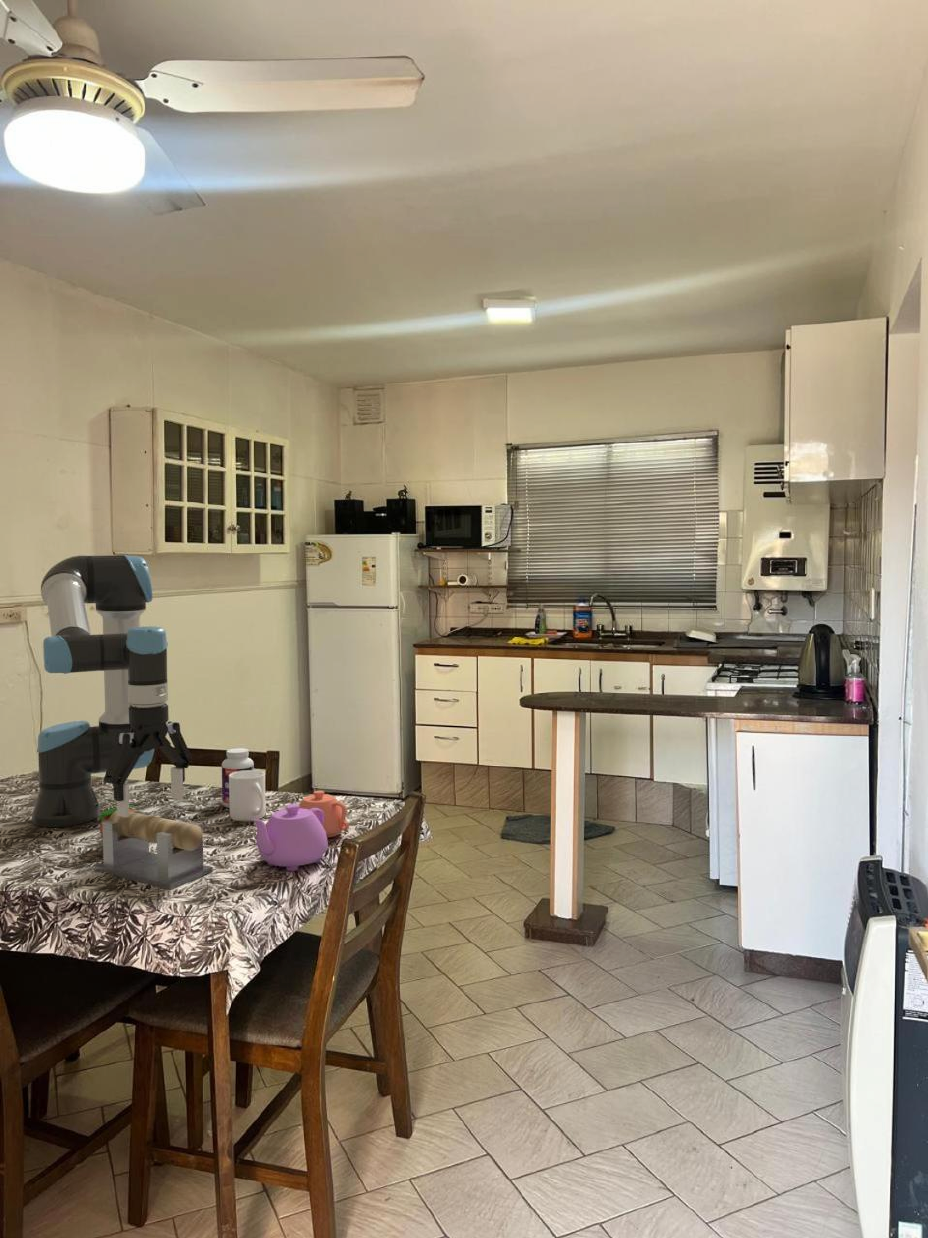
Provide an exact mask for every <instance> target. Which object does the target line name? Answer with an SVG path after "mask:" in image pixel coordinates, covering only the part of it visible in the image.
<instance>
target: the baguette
mask: <svg viewBox="0 0 928 1238" xmlns="http://www.w3.org/2000/svg"><path fill="white" fill-rule="evenodd" d="M109 821H113V822H117V835H122V836H126V837H131V838H135V839H139V840H144V841H148V842H149V843H153V844H157V833H160V832H164V833H169V834H172V846H173V848H174V847H175V848H180V849H184V850H188V851H193V850H195V849H196V848H198V846H199V845H200V843H201V841H202V837H203V835H204V833H203V828H202V829H201V828H200V827H199V826H198V825H193V824H189V822H182V821H178V820H173V819H168V818H163V817H159V816H154V815H149V814H148V815H144V814H139V813H134V812H129V817H127V818H126V817H122V816H117V811H115V812H114V813H113V814H112V815H111V817H110V818H109Z"/></svg>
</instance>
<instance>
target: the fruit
mask: <svg viewBox="0 0 928 1238" xmlns="http://www.w3.org/2000/svg"><path fill="white" fill-rule="evenodd" d="M133 808H135V809H139V807H138V806H136V805H129V812H136V810H134V809H133ZM115 811H117V807H116V808H109V809H107V810H105V811H103V812H101V813H100V815H99V817H97V818H98V819H102V820H101V821H100V827H99V832H100V836H101V840H103V828H102V822H104V821H107V820H108V821H109V818H110V817H111V815H112V814H113V813H114V812H115ZM118 836H120V835H118Z"/></svg>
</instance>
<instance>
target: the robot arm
mask: <svg viewBox="0 0 928 1238" xmlns="http://www.w3.org/2000/svg"><path fill="white" fill-rule="evenodd" d="M40 596H41V598H42V601H43V603H44V604H45V605H46V606H47V611H48V619H49V626H50V633H51V634H50V635H51V636H47V637H45V638H44V639H43V642H42V644H43V645H42V648H43V649H42V650H43V655H42V656H43V667H44V670H45V672H47V673H49V674H64V675H65V674H72V673H87V672H101V671H102V672H103V675H104V676H103V677H104V680H103V682H104V687H103V688H104V712H103V713H102V715H100V717H98V725H96V726H91V724H90V722H89V721H87V720H79V721H77V720H76V721H74V720H73V721H68V722H63V723H59V724H55V725H51V726H49V727H47V728H44V729H42V730H41V731H40V732H39V733H38V737H37V749H36V752H37V754H38V756H37V757H38V785H39V787H38V789H39V790H38V795H37V797H36V800H35V803H34V808H33V810H32V814H31V815H32V816H31V817H32V818H31V819H32V824H33V825H35V826H38V827H44V828H45V827H46V828H58V827H69V826H75V825H76V826H77V825H81V824H86V823H88V822H91V821H93V820H96V819H97V818H98V817H99V816H100V815H101V810H100V809H101V808H100V804H99V802H98V798H97V795H96V793H95V791H94V789H93V786H92V775H93V774H101V773H105V775H104V777H103V782H104V783H107V784H112V786H113V788H112V789H113V800H114V802H116V808H117V816H122V817H126V818H127V817H129V808H130V807H129V806H130V789H129V787H130V786H129V783H126V782H127V780H128V778H129V776H130V774H131V773H132V771H133V770H136V769H137V770H138V769H142V768H143V769H144V768H147V767H148V766H149V765H150V764H151V762H152V760H153V756H154V752H155V750H158V749H159V750H160V751H161V752H162V753H163V754H164V756H165V757H167V759H168V760H169V762H171V764H172V765H173V767H170V789H171V799H174V800H179V801H182V800H184V782H186V781H185V780H186V772H185V771H186V769H188V768H189V766H190V764H191V763H192V762H193V759H194V758H193V757H192V754H191V752H190V750H189V748H188V746H187V744H186V741H185V739H184V737H183V735H182V733H181V732H182V731H181V724H180V723H179V722H176V721H170V720H169V705H168V704H167V703H166V702H168V701H169V691H168V690H169V688H168V687H169V686H168V684H169V683H168V650H167V648H168V641H167V632H166V629H165V628H163V627H161V626H141V624H140V623H141V621H140V620H141V619H140V618H141V615H143V613H144V612H145V611H146V610H147V604H149V603H151V602H152V601H153V586H152V578H151V574H150V569H149V567H148V564H147V561H146V559H145V558H143V557H141V556H140V555H139V556H138V555H126V554H123V555H122V554H120V555H117V554H116V555H115V554H114V555H113V554H112V555H111V554H110V555H75V556H70V557H67V558H65V559H63V560H61V561H59V562H58V563H56V564H55V565H54V566H52V567H51V568H49V570H48V571H47V572H46V574H45V575H44V577H42V581H41V584H40ZM146 603H147V604H146ZM86 604H95V611H96V613H98V614H99V615H100V617H101V618H102V634H101V633H100V634H92V633H91V629H90V624H89V619H88V614H87V610H86ZM167 735H168V736H169V738H170V740H169V739H168V737H166V736H167ZM170 741H171V742H170ZM171 744H172V745H173V746H172V745H171ZM189 763H190V764H189Z"/></svg>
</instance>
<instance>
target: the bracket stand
mask: <svg viewBox="0 0 928 1238" xmlns="http://www.w3.org/2000/svg"><path fill="white" fill-rule="evenodd" d="M135 811H136V810H135ZM134 813H139V814H144V815H149V813H148V812H146V811H145V812H144V811H139V810H137V811H136V812H134ZM101 822H102V821H101ZM188 823H189V824H193V825H198V826H199V827H200V828H201V829H202V830H203V823H200V822H195V821H190V822H188ZM102 828H103V839H102V849H103V851H102V853H103V855H102V856H103V857H102V858H103V862H101V863H98V864H94V871H96V870H98V871H97V872H100V871H102V872H101V873H104V872H106V873H105V874H107V873H109V875H111V874H113V875H112V876H115V875H116V876H115V877H120V878H123V879H128V880H131V881H134V882H139V883H142V884H146V885H150V886H154V887H158V888H163V889H165V890H168V891H170V890H172V889H175V888H178V887H179V886H180V887H181V886H183V885H184V884H187V883H191V882H192V881H194V880H197V879H200V878H201V877H204V876H206V875H208V874H212V873H213V871H214V869H213V866H211V865H210V866H209V865H205V864H204V844H203V840H204V839H203V837H202V841H201V843H200V845H199V846H198V848H196V849H195V850H193V851H188V850H184V849H180V848H175V847H173V846H172V834H169V833H164V832H160V833H157V843H156V853H154V852H150V842H148V841H144V840H139V839H135V838H131V837H126V836H122V835H120V836H118V835H117V822H113V821H108V820H107V821H104V822H102Z"/></svg>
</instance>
